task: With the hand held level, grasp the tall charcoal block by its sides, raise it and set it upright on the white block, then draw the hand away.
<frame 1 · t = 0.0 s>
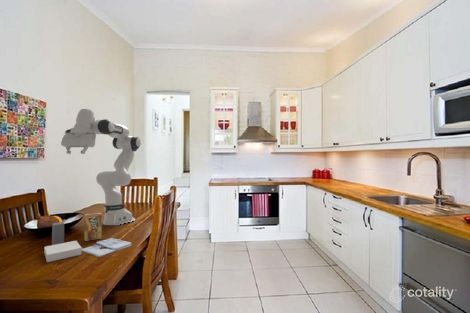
hand: (75, 153, 146), 52 cm above the table, tool tilted 20°, fingers open, 8 cm apart
tall block: (58, 244, 138), on the table
white block: (62, 253, 125), on the table
folded bicycle print cloth: (105, 249, 134), on the table
candy box: (93, 239, 147), on the table
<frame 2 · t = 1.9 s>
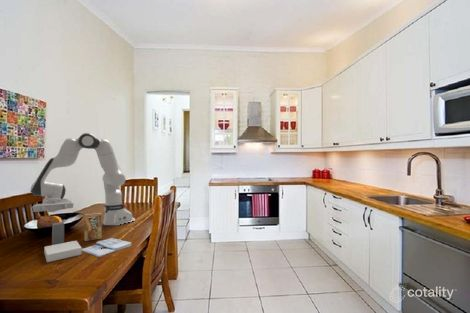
hand: (55, 208, 147), 18 cm above the table, tool horizontal, fingers open, 8 cm apart
nothing on the table moved.
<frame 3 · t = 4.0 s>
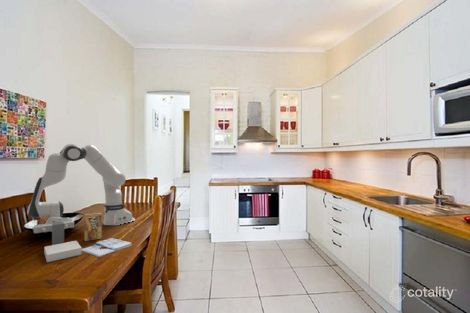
hand: (55, 229, 145), 6 cm above the table, tool horizontal, fingers open, 8 cm apart
nothing on the table moved.
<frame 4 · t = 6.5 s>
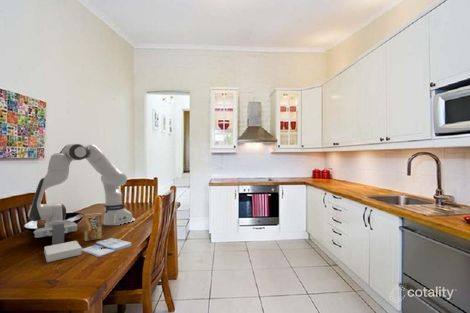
hand: (58, 233, 137), 7 cm above the table, tool horizontal, fingers closed on tall block, 5 cm apart
tall block: (58, 244, 138), on the table, touching gripper
everything else where it was.
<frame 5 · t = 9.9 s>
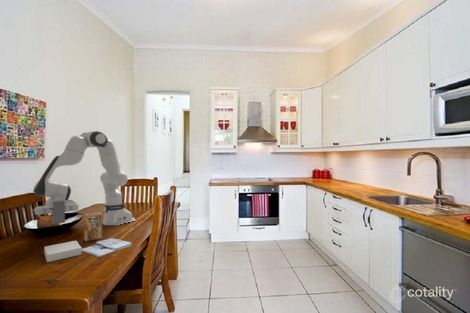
hand: (58, 210, 134), 20 cm above the table, tool horizontal, fingers closed on tall block, 5 cm apart
tall block: (58, 222, 135), point 13 cm above the table, touching gripper
everything else where it was.
when the fingers open (11 cm above the table, at t = 13.6 s): tall block drops 1 cm, resting on white block.
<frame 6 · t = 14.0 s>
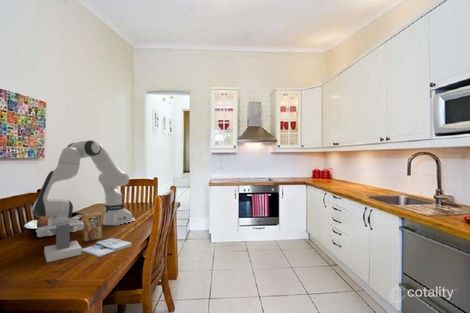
hand: (63, 232, 124), 11 cm above the table, tool horizontal, fingers open, 8 cm apart
tall block: (62, 247, 125), point 4 cm above the table, touching white block
everything else where it was.
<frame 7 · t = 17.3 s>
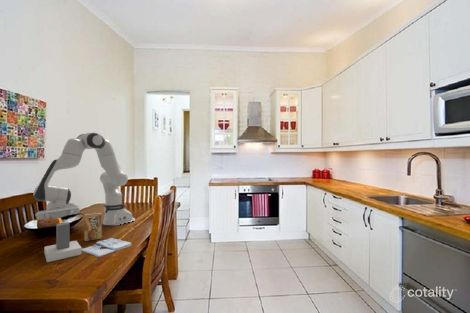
hand: (60, 215, 135), 17 cm above the table, tool horizontal, fingers open, 8 cm apart
nothing on the table moved.
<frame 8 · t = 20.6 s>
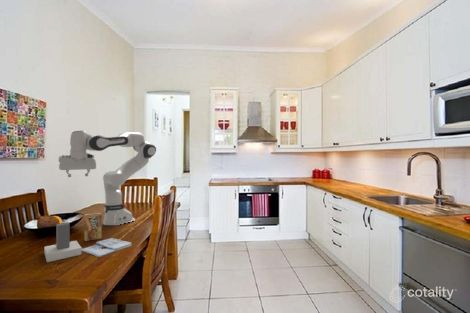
hand: (78, 176, 157), 37 cm above the table, tool pointing down, fingers open, 8 cm apart
nothing on the table moved.
at the end: tall block inside the target area on the white block (0.1 cm from its centre), point 3.5 cm above the white block's base; tall block tilted 0°; the gripper is holding nothing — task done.
